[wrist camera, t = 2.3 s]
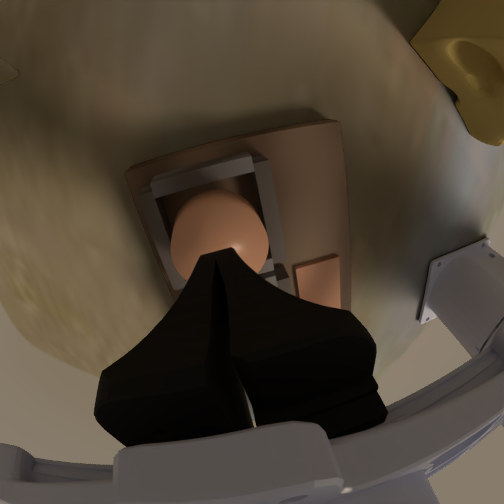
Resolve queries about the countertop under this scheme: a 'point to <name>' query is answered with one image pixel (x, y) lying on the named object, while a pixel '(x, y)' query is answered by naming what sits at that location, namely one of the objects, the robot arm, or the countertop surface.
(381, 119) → the countertop surface
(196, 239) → the terracotta button
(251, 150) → the button panel
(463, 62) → the cheese
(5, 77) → the ice cream cone
